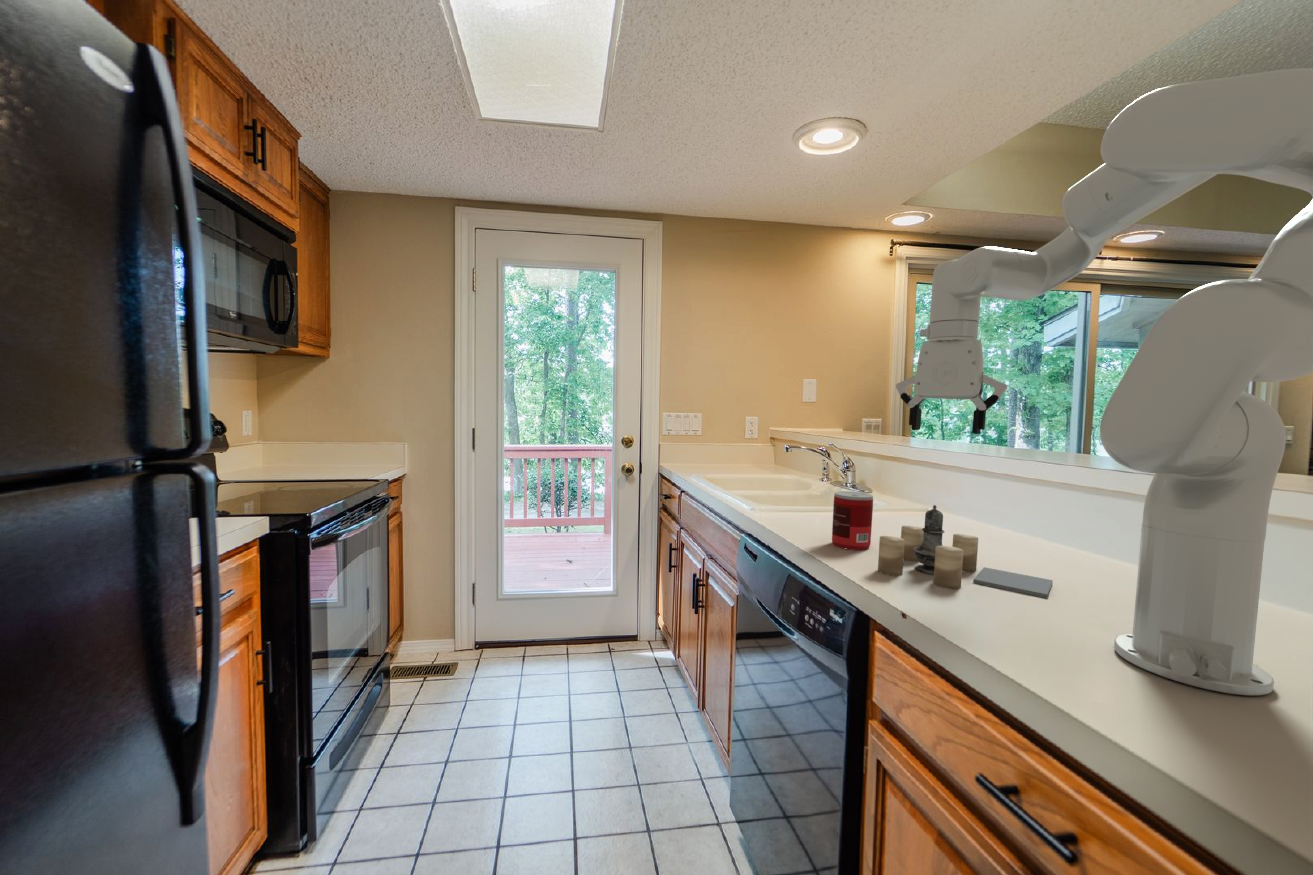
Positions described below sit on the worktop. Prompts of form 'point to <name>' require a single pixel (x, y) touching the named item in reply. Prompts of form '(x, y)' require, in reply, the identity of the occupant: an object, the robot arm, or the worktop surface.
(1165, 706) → the worktop surface
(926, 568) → the salt shaker
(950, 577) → the dowel front right
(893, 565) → the dowel front left
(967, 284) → the robot arm
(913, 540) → the dowel back left
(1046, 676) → the worktop surface
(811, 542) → the worktop surface
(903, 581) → the worktop surface
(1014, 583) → the coaster
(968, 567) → the dowel back right
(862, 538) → the canned food
